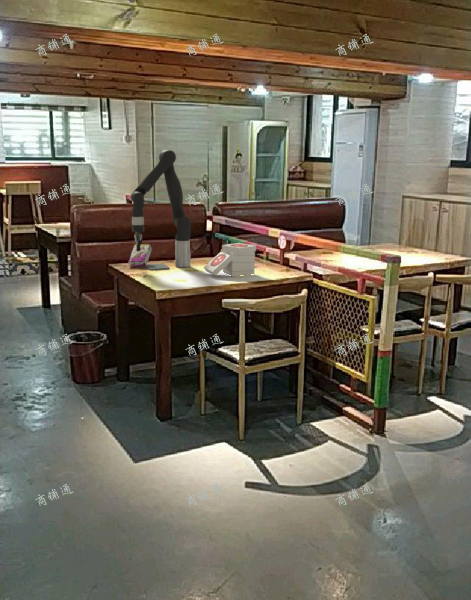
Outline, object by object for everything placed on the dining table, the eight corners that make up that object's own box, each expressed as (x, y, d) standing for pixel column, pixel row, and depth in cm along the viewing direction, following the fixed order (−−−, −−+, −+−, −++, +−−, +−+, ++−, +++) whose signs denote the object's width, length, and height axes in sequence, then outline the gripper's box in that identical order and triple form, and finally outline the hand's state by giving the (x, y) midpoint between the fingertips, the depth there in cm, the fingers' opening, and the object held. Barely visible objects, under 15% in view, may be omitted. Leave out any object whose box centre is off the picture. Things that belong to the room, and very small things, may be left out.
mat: (162, 265, 414) (162, 263, 414) (169, 269, 400) (169, 267, 399) (143, 266, 409) (143, 264, 409) (149, 270, 395) (149, 268, 395)
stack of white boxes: (202, 273, 389) (202, 244, 385) (246, 270, 401) (246, 242, 397) (213, 279, 372) (214, 249, 368) (259, 276, 384) (259, 246, 380)
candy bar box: (127, 261, 400) (134, 244, 411) (130, 267, 404) (136, 250, 415) (144, 260, 398) (150, 243, 409) (146, 266, 402) (152, 249, 413)
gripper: (146, 224, 389) (146, 252, 393) (141, 222, 401) (141, 249, 405) (134, 225, 386) (135, 253, 390) (129, 222, 398) (130, 249, 402)
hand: (138, 251), depth 397 cm, fingers closed
